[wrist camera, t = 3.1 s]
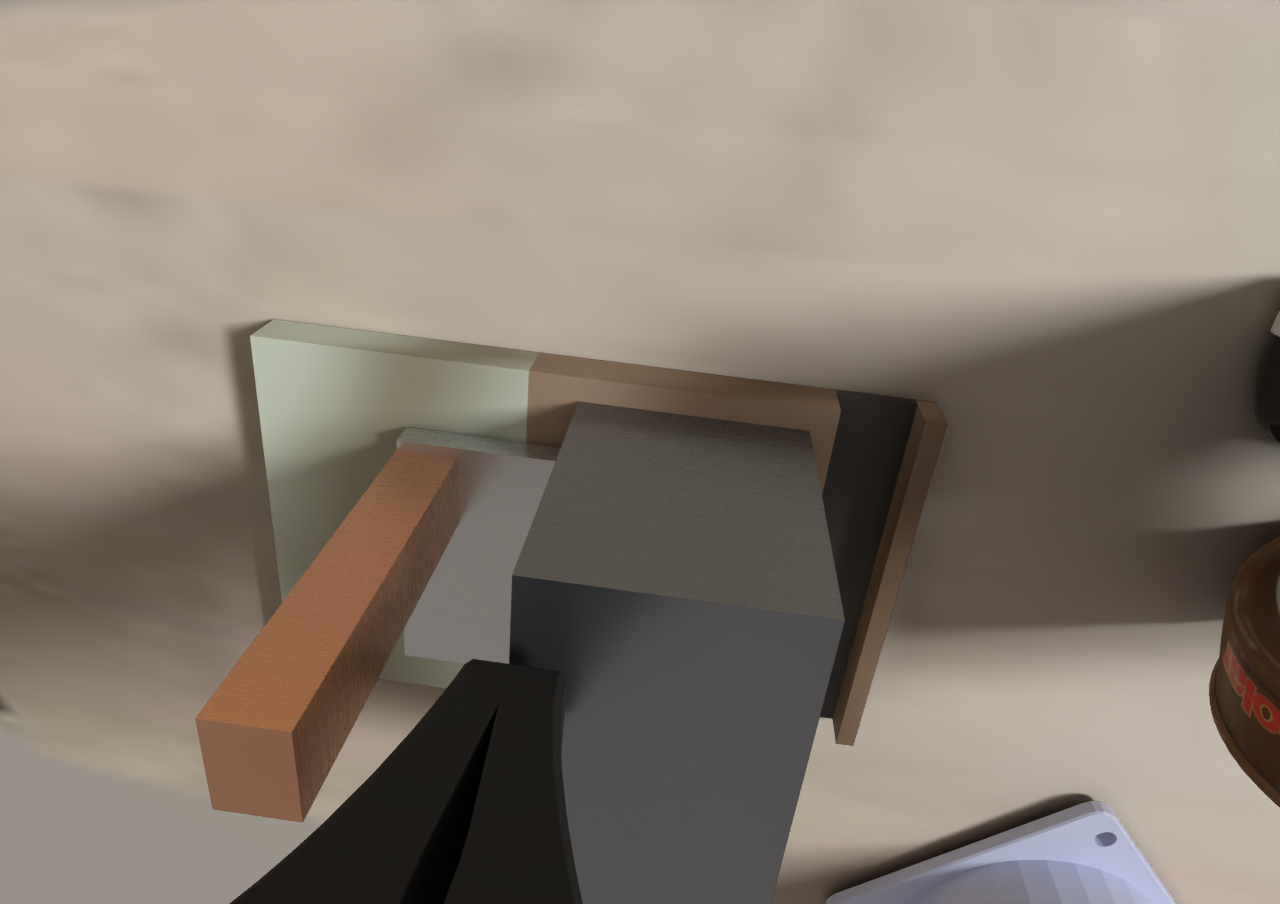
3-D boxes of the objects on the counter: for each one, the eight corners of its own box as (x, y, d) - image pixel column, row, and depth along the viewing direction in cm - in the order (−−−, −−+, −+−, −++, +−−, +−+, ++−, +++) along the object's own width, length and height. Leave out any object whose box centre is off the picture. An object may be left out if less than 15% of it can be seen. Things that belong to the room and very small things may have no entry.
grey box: (810, 430, 17) (844, 620, 12) (750, 714, 20) (756, 957, 15) (578, 401, 17) (511, 574, 12) (558, 688, 20) (500, 919, 15)
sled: (790, 476, 17) (831, 798, 10) (748, 684, 20) (757, 1054, 13) (406, 427, 17) (193, 706, 10) (413, 638, 20) (244, 975, 13)
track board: (935, 402, 17) (946, 423, 16) (848, 714, 21) (853, 745, 20) (273, 319, 18) (250, 335, 17) (307, 639, 22) (289, 666, 21)
